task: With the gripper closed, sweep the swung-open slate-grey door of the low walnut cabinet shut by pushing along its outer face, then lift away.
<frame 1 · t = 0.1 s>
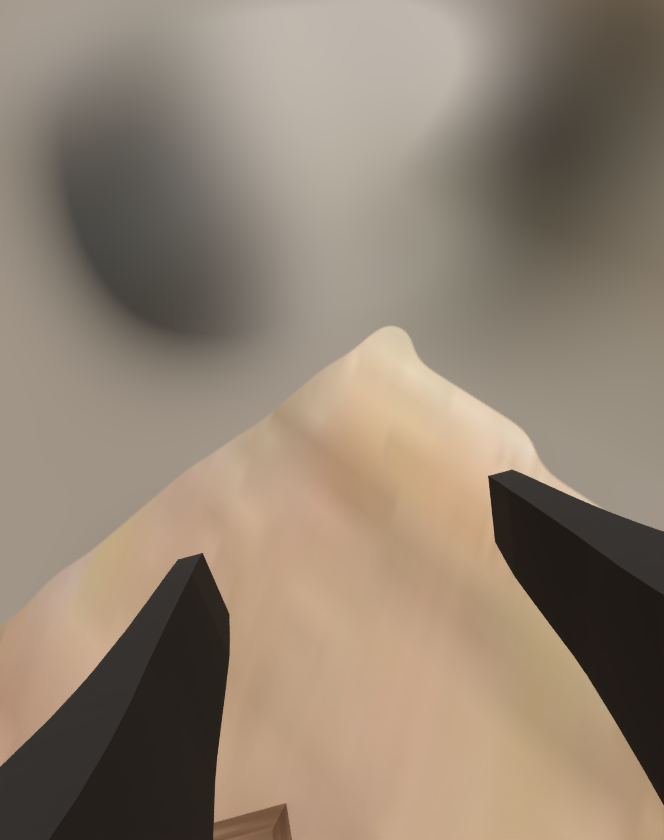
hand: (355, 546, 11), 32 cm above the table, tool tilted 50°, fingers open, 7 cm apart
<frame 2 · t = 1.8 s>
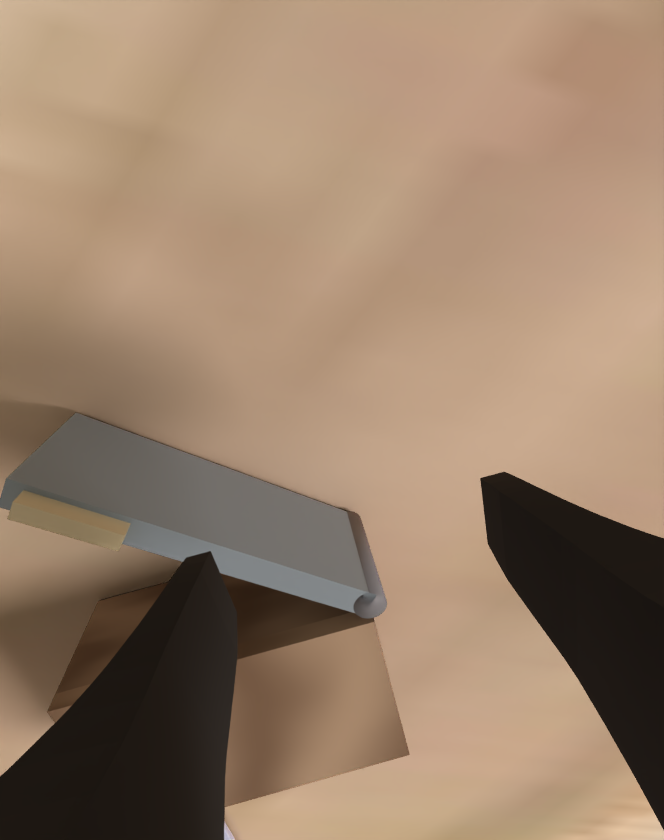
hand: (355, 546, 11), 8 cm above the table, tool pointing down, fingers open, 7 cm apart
door: (222, 518, 17), point 3 cm above the table, hinge at 40.0°
cabinet: (251, 627, 23), on the table
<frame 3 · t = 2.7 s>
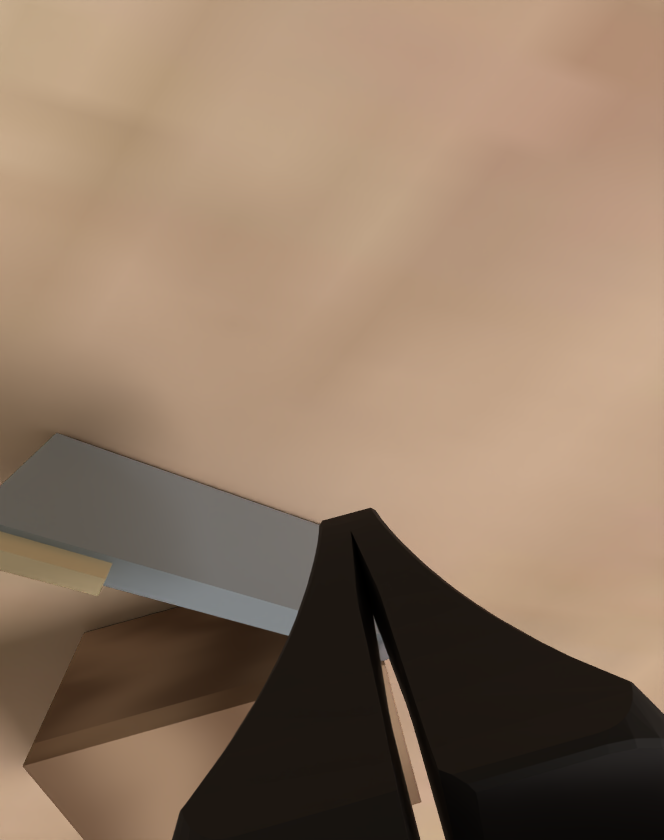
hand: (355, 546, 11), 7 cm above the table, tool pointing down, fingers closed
door: (217, 550, 15), point 3 cm above the table, hinge at 40.0°
cabinet: (249, 659, 21), on the table
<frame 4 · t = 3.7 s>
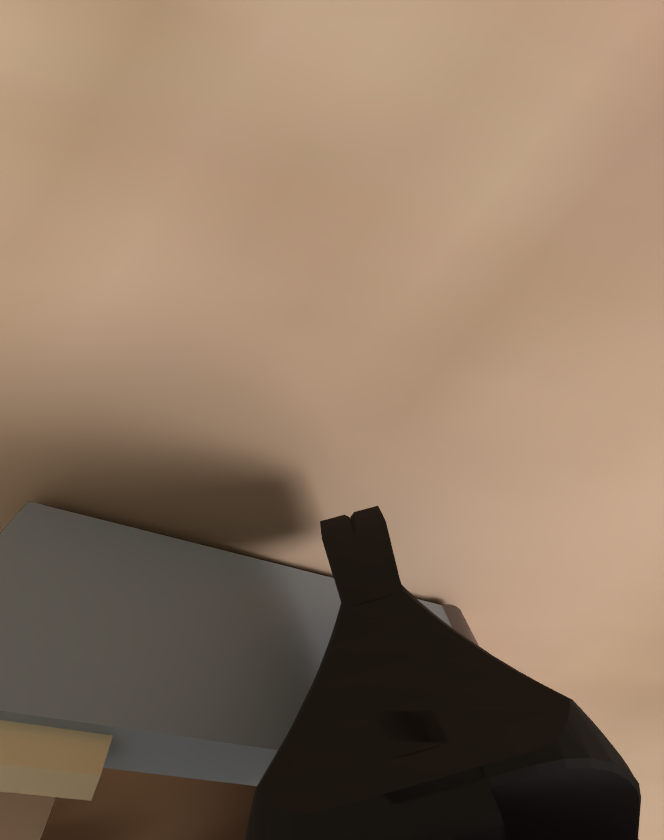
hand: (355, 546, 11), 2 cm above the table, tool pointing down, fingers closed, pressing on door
door: (270, 663, 10), point 3 cm above the table, hinge at 36.3°, touching gripper
cabinet: (296, 757, 16), on the table
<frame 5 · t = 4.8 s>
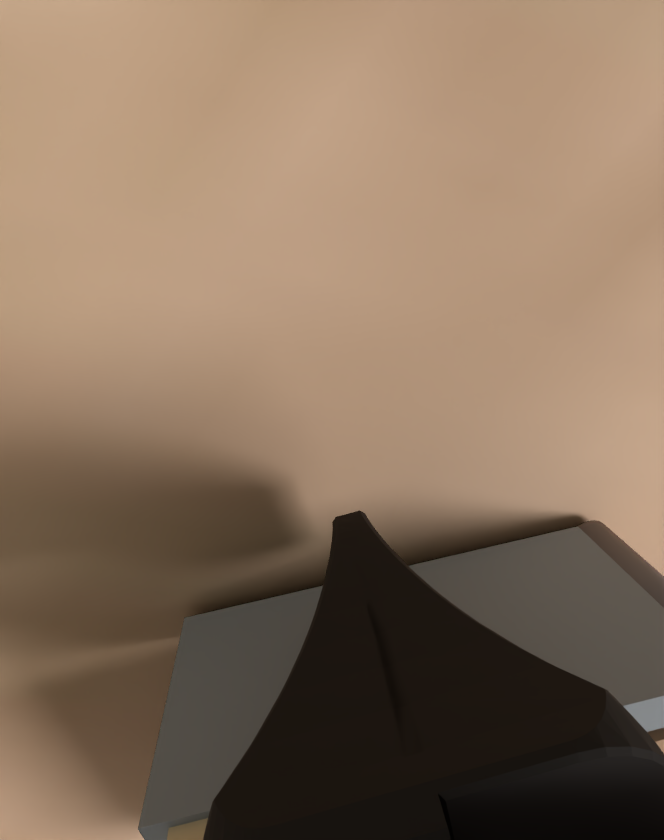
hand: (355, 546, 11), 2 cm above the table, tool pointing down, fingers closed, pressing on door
door: (434, 662, 11), point 3 cm above the table, hinge at 3.1°, touching gripper
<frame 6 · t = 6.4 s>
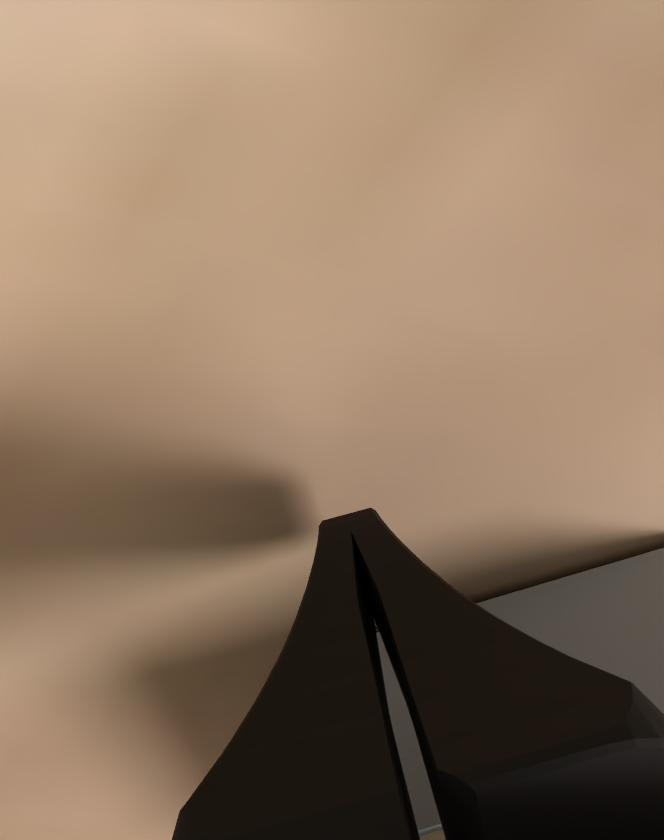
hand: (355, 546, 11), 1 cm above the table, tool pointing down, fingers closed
door: (565, 686, 12), point 3 cm above the table, hinge at -1.4°
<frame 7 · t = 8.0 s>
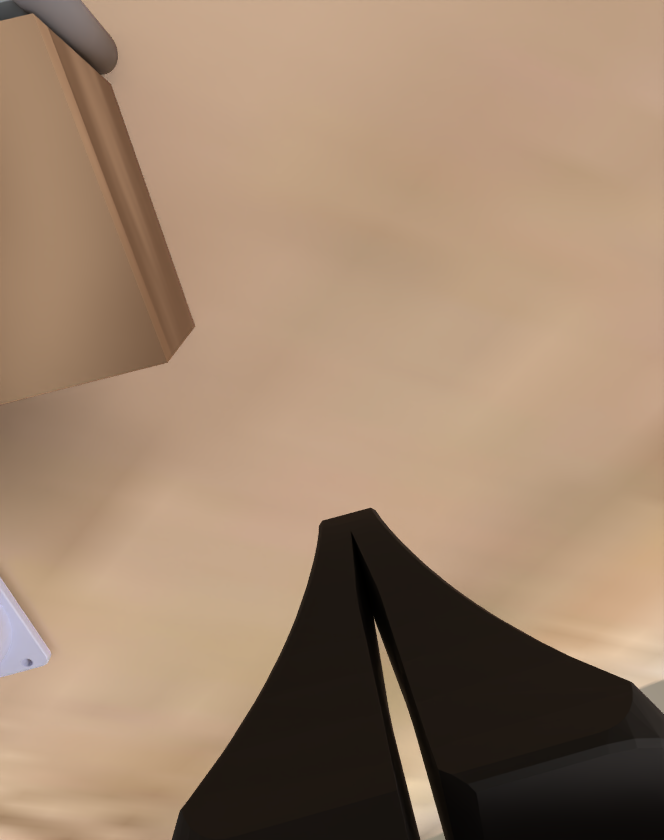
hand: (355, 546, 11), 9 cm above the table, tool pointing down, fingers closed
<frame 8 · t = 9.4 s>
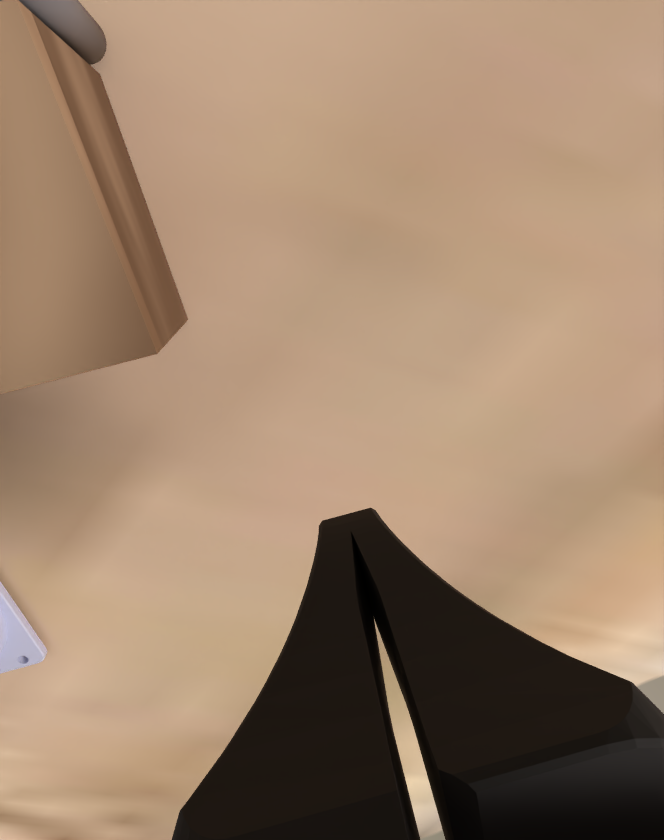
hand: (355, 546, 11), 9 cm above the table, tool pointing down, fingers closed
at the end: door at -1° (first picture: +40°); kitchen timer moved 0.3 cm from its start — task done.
